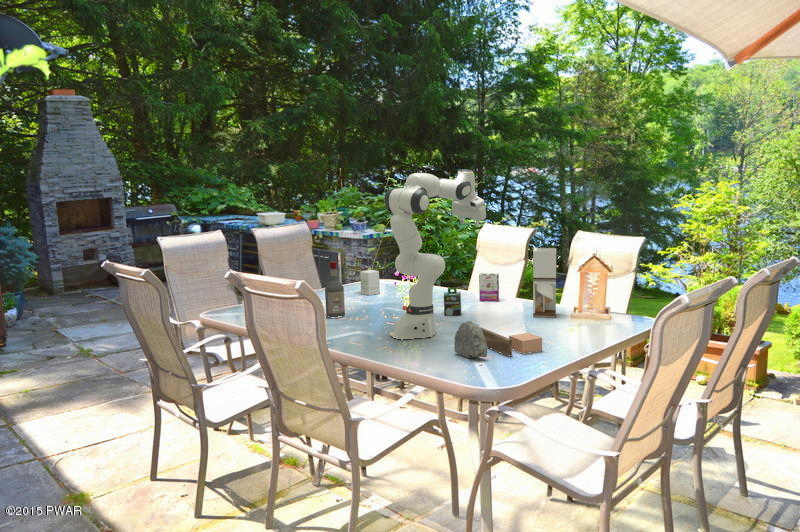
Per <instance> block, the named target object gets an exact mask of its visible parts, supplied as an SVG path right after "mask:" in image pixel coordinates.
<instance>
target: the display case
mask: <svg viewBox="0 0 800 532" xmlns="http://www.w3.org/2000/svg"><path fill="white" fill-rule="evenodd" d="M532 253H533V254H532V255H533V256H532V261H533V262H532V265H533V266H532V268H533V269H532V272H533V273H532V276H533V279H532V281H533V282H532V283H533V285H532V287H533V288H532V289H533V291H532V296H533V297H532V299H533V300H532V302H533V303H532V304H533V305H532V306H533V307H532V308H533V309H532V312H533V313H532V317H533V319H556V318H557V312H556V311H557V306H556V305H557V304H556V303H557V248H556V247H555V248H553V247H552V248H550V247H549V248H546V247H545V248H543V247H541V248H535V247H534V248H533V252H532Z"/></svg>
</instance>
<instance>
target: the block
mask: <svg viewBox="0 0 800 532" xmlns="http://www.w3.org/2000/svg"><path fill="white" fill-rule="evenodd" d="M508 338H509V339H511V340H512V349H514V350H516V351H518V352H521V353H528V354H530V353H529V352H534V353H537V352H536V351H539V352H542V351H543V337H541V336H538V335H535V334H533V333H531V332H523V333H517V334H511V335H509V336H508ZM514 350H513V351H514ZM516 351H515V352H516ZM518 352H517V353H518ZM521 353H520V354H521Z"/></svg>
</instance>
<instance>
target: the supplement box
mask: <svg viewBox="0 0 800 532" xmlns="http://www.w3.org/2000/svg"><path fill="white" fill-rule="evenodd" d="M359 274H360V275H359V276H360V277H359V278H360V295H363V294H365V295H364V296H368V295H371V296H375V295H374V294H376V295H379V294H381V287H380V271H379V270H375V269H367V270H363V271H362V270H361V271H359Z"/></svg>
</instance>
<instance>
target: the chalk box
mask: <svg viewBox="0 0 800 532" xmlns="http://www.w3.org/2000/svg"><path fill="white" fill-rule="evenodd" d="M451 290H453V291H451ZM461 295H462V294H461V291H457V287H448V288H447V291H444V293H443V309H444V312H443V313H444V317H445V316H450V317H451V316H453V317H454V316H455V317H458V316H459V317H461V316H462V299H461V297H462V296H461Z"/></svg>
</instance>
